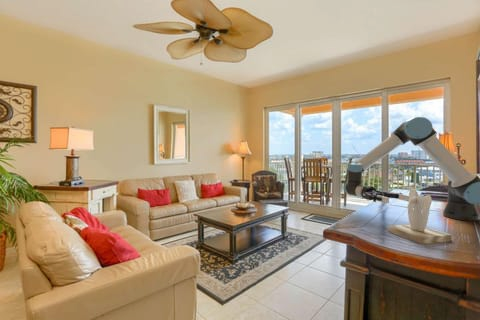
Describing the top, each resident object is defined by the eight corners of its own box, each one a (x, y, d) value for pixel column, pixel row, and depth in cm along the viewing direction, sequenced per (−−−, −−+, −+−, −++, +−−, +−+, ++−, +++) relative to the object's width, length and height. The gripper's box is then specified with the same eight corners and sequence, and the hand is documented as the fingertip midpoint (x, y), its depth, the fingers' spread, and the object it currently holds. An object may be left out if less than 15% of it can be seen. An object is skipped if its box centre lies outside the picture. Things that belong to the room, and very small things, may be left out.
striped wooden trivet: (415, 228, 116) (415, 223, 116) (451, 240, 100) (451, 234, 100) (387, 231, 112) (387, 225, 112) (420, 244, 96) (420, 237, 96)
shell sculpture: (431, 234, 100) (432, 191, 100) (407, 230, 105) (408, 189, 104) (428, 229, 107) (429, 188, 107) (406, 226, 112) (407, 187, 111)
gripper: (384, 197, 139) (420, 206, 118) (347, 199, 133) (378, 209, 112) (384, 184, 139) (420, 191, 118) (347, 186, 132) (378, 193, 112)
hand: (400, 199), depth 115 cm, fingers open, 13 cm apart
